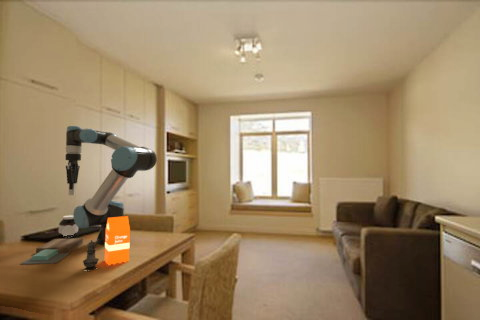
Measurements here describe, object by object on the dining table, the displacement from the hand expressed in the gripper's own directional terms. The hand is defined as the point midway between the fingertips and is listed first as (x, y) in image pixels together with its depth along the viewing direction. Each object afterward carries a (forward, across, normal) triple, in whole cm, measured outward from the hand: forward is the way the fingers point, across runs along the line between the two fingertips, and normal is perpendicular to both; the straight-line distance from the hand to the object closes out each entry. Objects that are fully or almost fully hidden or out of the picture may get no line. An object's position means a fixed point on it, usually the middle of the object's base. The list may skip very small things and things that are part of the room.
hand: (71, 195), depth 155 cm
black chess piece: (+27, +45, +26) cm, 58 cm away
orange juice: (+27, +36, +34) cm, 56 cm away
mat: (+26, +29, +2) cm, 39 cm away
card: (+25, +27, +1) cm, 37 cm away
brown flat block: (+26, +13, +1) cm, 29 cm away
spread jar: (+27, -16, -7) cm, 32 cm away
